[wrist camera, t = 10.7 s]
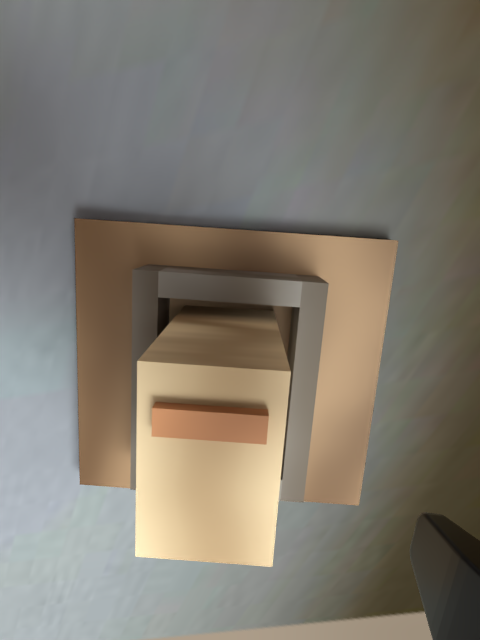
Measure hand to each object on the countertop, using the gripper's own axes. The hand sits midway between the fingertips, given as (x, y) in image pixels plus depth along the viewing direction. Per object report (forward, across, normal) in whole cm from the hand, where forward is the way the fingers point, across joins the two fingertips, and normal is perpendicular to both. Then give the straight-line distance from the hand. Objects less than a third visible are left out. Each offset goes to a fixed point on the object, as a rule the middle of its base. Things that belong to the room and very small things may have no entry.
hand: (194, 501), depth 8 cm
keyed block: (+11, 0, +1) cm, 11 cm away
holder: (+12, 0, +1) cm, 12 cm away
